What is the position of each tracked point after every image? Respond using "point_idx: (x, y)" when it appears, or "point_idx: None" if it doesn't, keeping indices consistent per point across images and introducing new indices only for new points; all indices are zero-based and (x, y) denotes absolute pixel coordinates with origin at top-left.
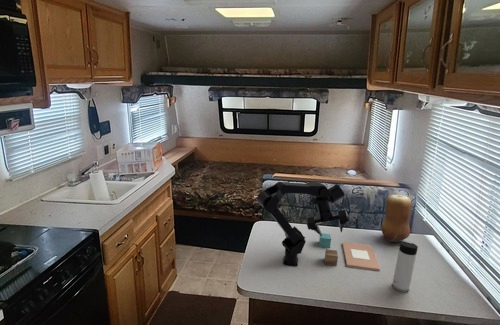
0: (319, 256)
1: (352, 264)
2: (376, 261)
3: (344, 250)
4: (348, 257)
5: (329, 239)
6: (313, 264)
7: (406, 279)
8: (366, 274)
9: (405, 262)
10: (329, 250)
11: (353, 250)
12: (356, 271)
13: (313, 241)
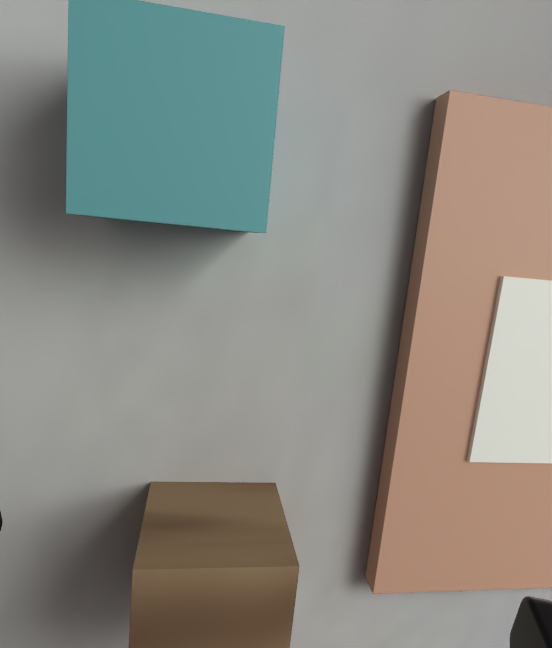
0: (88, 456)
1: (427, 577)
2: None
3: (418, 315)
4: (423, 460)
5: (240, 229)
6: (8, 623)
7: None
8: (503, 644)
9: None
10: (186, 597)
11: (525, 307)
12: (432, 625)
13: (16, 65)
